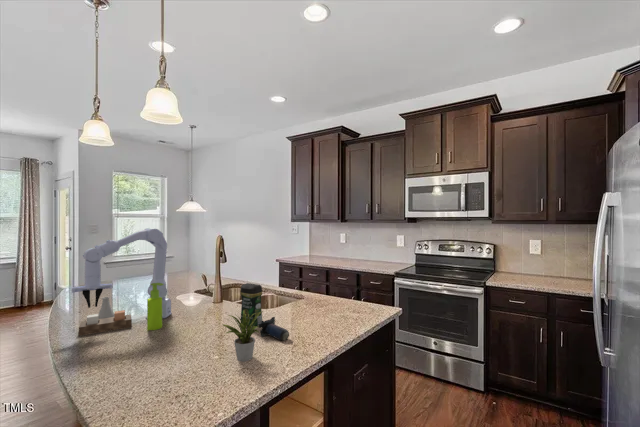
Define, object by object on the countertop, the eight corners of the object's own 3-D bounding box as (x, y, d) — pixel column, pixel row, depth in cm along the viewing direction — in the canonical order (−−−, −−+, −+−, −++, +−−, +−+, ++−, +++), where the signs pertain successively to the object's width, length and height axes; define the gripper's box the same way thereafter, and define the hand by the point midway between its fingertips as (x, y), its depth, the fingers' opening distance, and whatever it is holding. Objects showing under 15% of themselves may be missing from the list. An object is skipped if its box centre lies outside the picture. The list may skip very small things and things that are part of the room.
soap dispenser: (158, 330, 138) (157, 284, 138) (144, 329, 140) (144, 284, 140) (167, 326, 144) (167, 282, 144) (153, 325, 145) (153, 281, 145)
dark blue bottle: (259, 339, 131) (280, 348, 124) (257, 322, 130) (278, 330, 122) (275, 329, 138) (296, 337, 131) (273, 313, 137) (294, 319, 129)
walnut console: (130, 321, 151) (130, 314, 151) (131, 327, 143) (131, 319, 143) (80, 329, 140) (80, 321, 140) (78, 335, 133) (78, 327, 133)
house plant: (250, 345, 122) (250, 302, 122) (275, 354, 113) (274, 308, 113) (217, 358, 111) (217, 311, 111) (242, 369, 102) (241, 318, 102)
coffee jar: (237, 325, 145) (237, 284, 145) (249, 320, 152) (249, 281, 152) (253, 328, 140) (253, 286, 140) (265, 323, 147) (265, 283, 147)
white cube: (98, 323, 142) (98, 313, 142) (98, 326, 138) (98, 316, 138) (87, 325, 140) (87, 315, 140) (86, 328, 136) (86, 317, 136)
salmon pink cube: (124, 319, 147) (124, 310, 147) (125, 322, 144) (124, 312, 144) (114, 321, 145) (114, 311, 145) (114, 323, 142) (114, 313, 142)
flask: (118, 315, 160) (118, 295, 160) (107, 320, 153) (107, 299, 153) (104, 315, 161) (104, 295, 161) (93, 319, 154) (93, 299, 154)
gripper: (70, 279, 132) (70, 311, 132) (112, 275, 140) (112, 306, 140) (72, 276, 138) (72, 307, 138) (112, 273, 146) (112, 302, 146)
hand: (92, 306), depth 139 cm, fingers closed
